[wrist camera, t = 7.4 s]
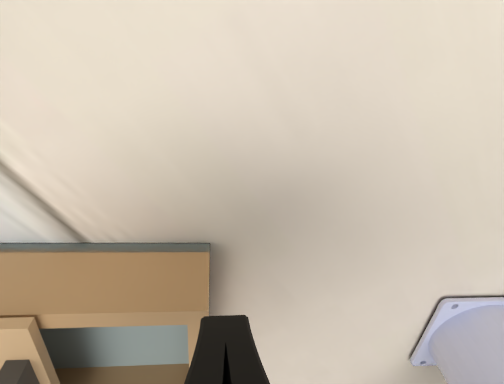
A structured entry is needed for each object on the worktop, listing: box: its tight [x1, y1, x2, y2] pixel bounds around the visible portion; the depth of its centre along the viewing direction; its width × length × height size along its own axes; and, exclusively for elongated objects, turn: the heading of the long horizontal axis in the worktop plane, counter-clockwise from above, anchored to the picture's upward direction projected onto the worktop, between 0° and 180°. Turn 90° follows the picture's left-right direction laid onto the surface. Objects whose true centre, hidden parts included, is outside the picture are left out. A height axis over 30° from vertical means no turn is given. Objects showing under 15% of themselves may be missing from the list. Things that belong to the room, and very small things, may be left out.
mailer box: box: [0, 243, 210, 384], centre depth 21 cm, size 20×12×5 cm, turn 86°
